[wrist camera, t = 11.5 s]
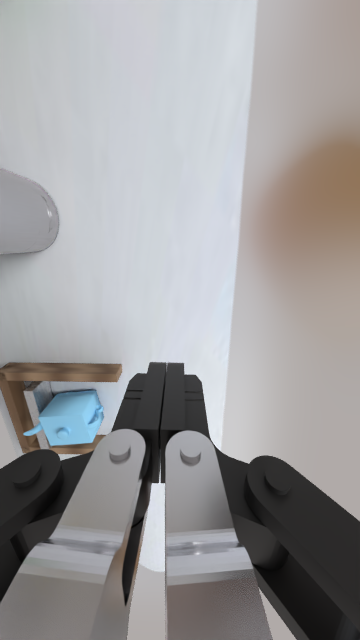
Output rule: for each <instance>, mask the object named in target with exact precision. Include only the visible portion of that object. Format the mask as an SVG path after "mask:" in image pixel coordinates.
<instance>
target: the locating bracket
mask: <svg viewBox="0 0 360 640" xmlns="http://www.w3.org/2000/svg"><path fill="white" fill-rule="evenodd" d="M121 373H122V365H121V364H78V363H8V364H7V365H5V366H4V367H2V368H1V369H0V388H1V391H2V394H3V397H4V399H5V402H6V405H7V408H8V411H9V414H10V417H11V420H12V423H13V425H14V428H15V431H16V434H17V437H18V440H19V443H20V446H21V448H22V451H23V453H29V452H31V451H34V450H39V449H41V448H40V444H39V441H38V438H37V435H36V434H34V435H31V436H25V435H23V433H25V432H27V431H29V430H31V429H33V428H34V425H33V421H32V418H31V415H30V412H29V408H28V405H27V402H26V398H25V395H24V392H23V391H24V390H25V389H26V388H25V385H24V381H73V382H117V381H118V379H119V377H120V375H121ZM105 436H106V435H96V436H95V438H94V440H93V442H92V443H82V444H69V445H53V446H52V448H51V449H50V450H52V451H54V452H56V453H57V454H86V453H88V452H91V451H93V450H94V449H95V448H96V446H97V445H98V443H99V442H100V441H101V440H102V439H103V438H104V437H105Z"/></svg>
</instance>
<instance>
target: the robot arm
mask: <svg viewBox="0 0 360 640" xmlns="http://www.w3.org/2000/svg"><path fill="white" fill-rule="evenodd" d="M58 228H59V218H58V213H57V210H56V207H55V205H54V203H53V200H52V199H51V198H50V196H49V195H48V193H47V192H46V191H45V190H44V189H43V188H42V187H41V186H39V185H38V184H37V183H35V182H34V181H31V180H29V179H27V178H25V177H22V176H20V175H17V174H15V173H12V172H10V171H7V170H5V169H3V168H0V254H12V253H27V252H37V251H42V250H44V249H46V248H48V247H49V246H50V245H51V244H52V243H53V241H54V240H55V238H56V236H57V233H58ZM160 463H161V483H165V633H166V635H165V640H273V639H272V635H271V632H270V628H269V624H268V621H267V617H266V613H265V610H264V606H263V602H262V599H261V595H260V592H259V588H260V590H261V591H262V593H263V594H264V595H265V597H266V598H267V599H268V601H269V602H270V604H271V605H272V606H273V608H274V609H275V610H276V612H277V613H278V615H279V616H280V617H281V619H282V620H283V621H284V623H285V624H286V625H287V627H288V628H289V630H290V631H291V632H292V634H293V635H294V637H295V638H296V639H297V640H360V521H358V520H357V519H356V518H355V517H354V516H352V515H351V514H350V513H348V512H347V511H346V510H345V509H344V508H342V507H341V506H340V505H339V504H337V503H336V502H335V501H334V500H332V499H331V498H330V497H329V496H327V495H326V494H325V493H324V492H322V491H321V490H320V489H319V488H317V487H316V486H315V485H314V484H312V483H311V482H310V481H309V480H307V479H306V478H305V477H304V476H303V475H301V474H300V473H299V472H298V471H296V470H295V469H294V468H293V467H291V466H290V465H289V464H287V463H286V462H284V461H283V460H281V459H278V458H276V457H272V456H259V457H256V458H255V459H253V460H252V461H251V462H250V464H248V463H245V462H242V461H239V460H236V459H234V458H231V457H228V456H227V455H225V454H223V453H222V452H221V451H219V450H218V449H217V448H216V446H215V445H214V444H213V442H212V441H211V438H210V435H209V430H208V423H207V416H206V409H205V402H204V395H203V389H202V382H201V381H200V380H199V379H198V377H197V376H196V375H184V363H168V364H167V363H162V362H150V364H149V368H148V372H147V374H142V373H137V374H136V375H135V376H134V377H133V378H132V379H131V380H130V381H129V384H128V387H127V389H126V392H125V395H124V399H123V401H122V403H121V406H120V409H119V412H118V414H117V417H116V420H115V423H114V425H113V428H112V431H111V433H109V434H108V435H106V436H105V437H104V438H103V439H102V440H101V441H100V442H99V443H98V445H97V446H96V448H95V449H94V450H93V451H91V452H88V453H86V454H83V455H80V456H76V457H72V458H69V459H65V460H61V461H60V458H59V456H58V454H57V453H56V452H54V451H52V450H49V449H39V450H34V451H31V452H29V453H26V454H24V455H22V456H21V457H19V458H17V459H16V460H14V461H12V462H11V463H9V464H8V465H6V466H4V467H3V468H1V469H0V640H127V634H128V622H129V613H130V607H131V601H132V595H133V589H134V584H135V579H136V573H137V568H138V562H139V557H140V552H141V546H142V541H143V535H144V530H145V524H146V519H147V513H148V506H149V501H150V492H151V484H152V483H159V474H160Z"/></svg>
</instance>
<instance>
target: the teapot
mask: <svg viewBox="0 0 360 640" xmlns="http://www.w3.org/2000/svg"><path fill="white" fill-rule="evenodd" d="M102 411H103V406H101V405H100V402H99V398H98V395H97V392H96V390H93V391H92V390H88V391H81V392H68V393H58V394H57V395H56V396H55V397H54V398H53V399H52V401H51V402H50V403H49V404H48V406H47V407H46V408H45V409H44V410H43V412H42V413H41V414H40V415H39V416H38V418H39V420H40V422H39V423H38V424H37V425H36V426H35V427H34V428H33V429H31V430H29V431H27V432H25V433H23V435H25V436H31V435H34V434H36V433H38V432H39V431H41V430H42V429H43V430H44V432H45V434H46V436H47V439H48V441H49V443H50V446H53V445H69V444H82V443H92V442H93V440H94V438H95V436H96V434H97V431H98V429H99V427H100V425H101V423H102V420H103V418H104V415H103V412H102Z"/></svg>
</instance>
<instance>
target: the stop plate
mask: <svg viewBox="0 0 360 640" xmlns="http://www.w3.org/2000/svg"><path fill="white" fill-rule="evenodd" d="M23 392H24V395H25V398H26V402H27V405H28V408H29V412H30V415H31V418H32V421H33V425H34V427H35V426H36V425H37V424H38V423H39V422H40V420H39V418H38V416H39V415H40V414H41V413H42V412H43V410H44V409H45V408H46V407H47V406H48V404H49V403H50V402H51V401H52V399H53V395H52V391H51V387H50V383H49V381H34V382H32V383H31V384H30V385H29V386H28V387H27V388H26V389H25V390H24V391H23ZM36 435H37V438H38V441H39V444H40V448H41V449H49V450H50V449H51V448H52V446H50V443H49V441H48V439H47V436H46V434H45V432H44V430H43V429H42V430H41V431H39V432H38V433H36Z"/></svg>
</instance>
